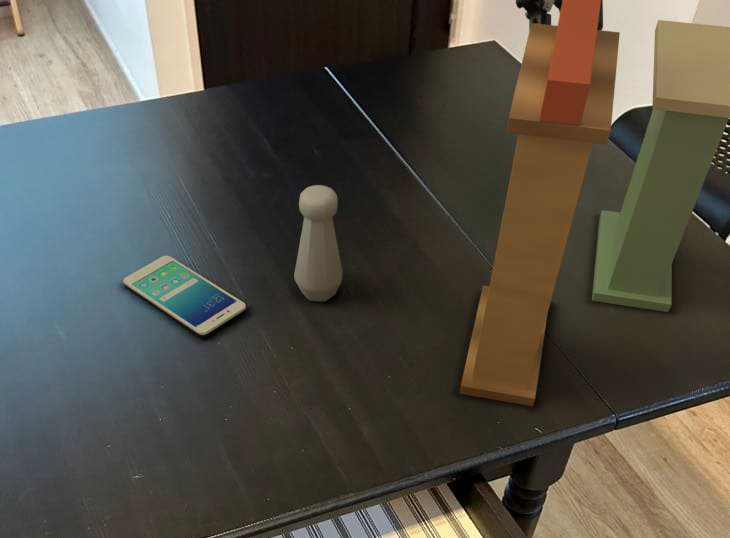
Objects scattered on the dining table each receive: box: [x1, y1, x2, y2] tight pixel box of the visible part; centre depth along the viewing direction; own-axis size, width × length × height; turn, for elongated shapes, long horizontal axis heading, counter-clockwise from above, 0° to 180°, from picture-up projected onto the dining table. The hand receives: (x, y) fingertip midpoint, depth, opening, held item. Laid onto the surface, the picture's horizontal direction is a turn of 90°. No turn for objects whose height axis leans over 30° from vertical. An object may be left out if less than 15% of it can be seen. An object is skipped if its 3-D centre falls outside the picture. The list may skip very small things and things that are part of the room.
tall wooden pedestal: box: [459, 23, 621, 407], centre depth 82 cm, size 18×8×30 cm, turn 166°
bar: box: [539, 0, 601, 126], centre depth 72 cm, size 28×3×3 cm, turn 166°
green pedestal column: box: [591, 19, 730, 313], centre depth 94 cm, size 18×9×24 cm, turn 166°
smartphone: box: [122, 255, 247, 339], centre depth 99 cm, size 7×1×15 cm
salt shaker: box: [293, 184, 343, 302], centre depth 95 cm, size 6×6×13 cm
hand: (561, 64), depth 91 cm, fingers open, 8 cm apart
